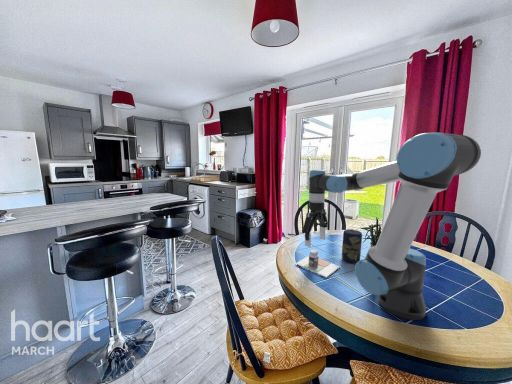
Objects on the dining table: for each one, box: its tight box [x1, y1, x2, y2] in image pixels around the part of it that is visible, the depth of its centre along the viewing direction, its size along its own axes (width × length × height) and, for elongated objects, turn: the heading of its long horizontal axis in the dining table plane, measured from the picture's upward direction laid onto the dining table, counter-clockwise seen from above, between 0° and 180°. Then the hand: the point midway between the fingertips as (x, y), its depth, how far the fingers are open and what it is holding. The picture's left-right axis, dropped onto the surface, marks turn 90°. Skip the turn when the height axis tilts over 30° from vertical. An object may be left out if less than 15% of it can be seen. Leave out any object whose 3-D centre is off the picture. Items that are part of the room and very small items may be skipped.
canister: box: [341, 228, 363, 264], centre depth 116 cm, size 10×10×18 cm
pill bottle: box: [308, 249, 319, 268], centre depth 107 cm, size 5×5×8 cm
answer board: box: [295, 255, 341, 279], centre depth 110 cm, size 18×14×1 cm
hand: (315, 242), depth 105 cm, fingers open, 13 cm apart
